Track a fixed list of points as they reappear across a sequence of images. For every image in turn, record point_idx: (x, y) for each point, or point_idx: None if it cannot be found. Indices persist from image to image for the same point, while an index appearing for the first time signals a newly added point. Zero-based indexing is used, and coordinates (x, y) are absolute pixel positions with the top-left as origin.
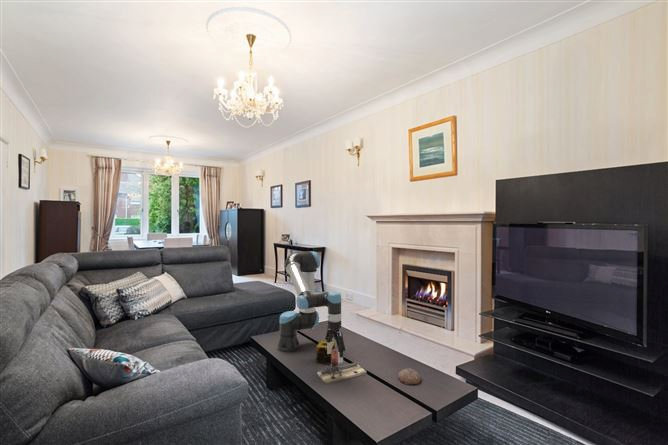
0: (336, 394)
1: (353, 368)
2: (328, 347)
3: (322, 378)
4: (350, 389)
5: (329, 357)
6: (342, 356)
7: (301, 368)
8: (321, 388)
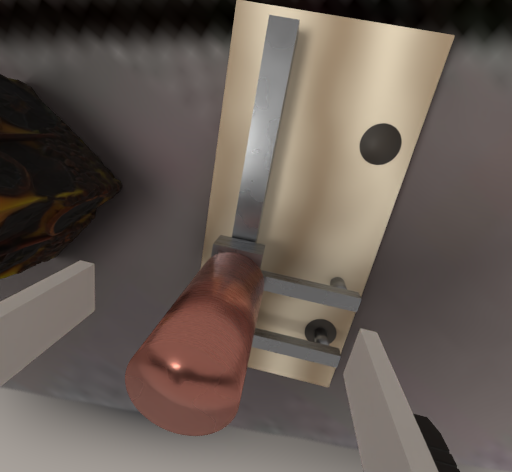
0: (461, 408)
1: (311, 108)
2: (25, 357)
3: (269, 368)
4: (497, 322)
5: (70, 209)
6: (434, 436)
7: (84, 360)
8: (345, 418)
